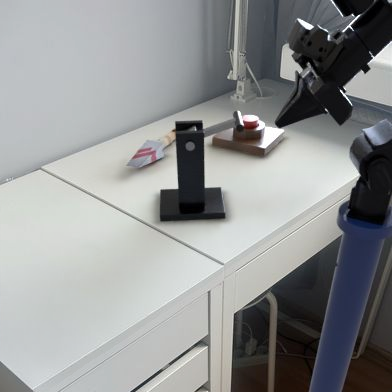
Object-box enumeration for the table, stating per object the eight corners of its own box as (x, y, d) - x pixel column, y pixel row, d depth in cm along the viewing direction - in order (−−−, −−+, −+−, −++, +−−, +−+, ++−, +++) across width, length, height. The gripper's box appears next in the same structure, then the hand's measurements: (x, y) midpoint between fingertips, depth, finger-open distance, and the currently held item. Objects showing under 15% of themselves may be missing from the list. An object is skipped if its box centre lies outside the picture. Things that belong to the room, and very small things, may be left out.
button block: (283, 138, 108) (285, 121, 105) (264, 156, 102) (265, 139, 99) (233, 128, 112) (234, 111, 110) (212, 145, 106) (212, 128, 104)
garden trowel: (122, 157, 96) (170, 123, 109) (123, 171, 97) (170, 136, 111) (139, 160, 94) (186, 126, 108) (141, 174, 96) (186, 139, 110)
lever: (242, 120, 81) (238, 105, 79) (245, 134, 77) (241, 119, 75) (183, 141, 83) (178, 127, 81) (184, 155, 79) (179, 141, 77)
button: (260, 125, 105) (261, 116, 104) (253, 131, 103) (253, 122, 102) (244, 122, 106) (245, 113, 105) (237, 128, 104) (237, 119, 103)
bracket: (221, 193, 92) (222, 114, 82) (225, 219, 85) (226, 137, 75) (160, 195, 91) (154, 116, 82) (160, 221, 85) (153, 140, 75)
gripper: (313, -18, 74) (235, 68, 81) (344, 12, 61) (248, 111, 68) (356, 41, 79) (279, 116, 87) (393, 80, 66) (299, 165, 74)
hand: (276, 125), depth 79 cm, fingers closed
